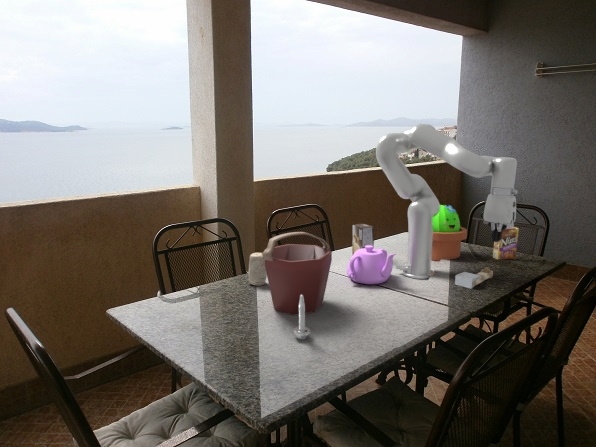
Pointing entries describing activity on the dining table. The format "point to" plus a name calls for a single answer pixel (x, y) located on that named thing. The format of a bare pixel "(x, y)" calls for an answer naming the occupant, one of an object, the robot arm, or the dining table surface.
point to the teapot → (370, 265)
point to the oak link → (483, 275)
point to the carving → (257, 269)
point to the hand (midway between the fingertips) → (496, 241)
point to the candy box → (506, 244)
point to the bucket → (297, 273)
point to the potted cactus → (447, 234)
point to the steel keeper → (466, 279)
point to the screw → (301, 321)
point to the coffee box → (362, 236)
